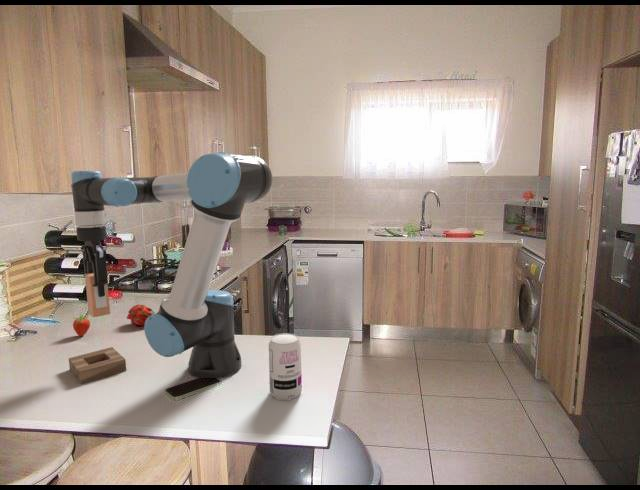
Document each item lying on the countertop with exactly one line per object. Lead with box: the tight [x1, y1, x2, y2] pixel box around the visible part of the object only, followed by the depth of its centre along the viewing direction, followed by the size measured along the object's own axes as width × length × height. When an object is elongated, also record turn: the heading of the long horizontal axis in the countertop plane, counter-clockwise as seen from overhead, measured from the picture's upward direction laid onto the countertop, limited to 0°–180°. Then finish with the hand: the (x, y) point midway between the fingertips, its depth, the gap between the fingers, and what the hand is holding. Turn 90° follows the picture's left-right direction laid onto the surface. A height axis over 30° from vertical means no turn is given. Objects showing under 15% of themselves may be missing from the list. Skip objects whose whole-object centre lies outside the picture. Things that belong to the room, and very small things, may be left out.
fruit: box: [72, 313, 91, 337], centre depth 153 cm, size 5×5×8 cm
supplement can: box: [268, 332, 303, 401], centre depth 112 cm, size 8×8×15 cm
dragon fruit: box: [126, 304, 156, 328], centre depth 164 cm, size 8×8×12 cm
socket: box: [68, 346, 127, 385], centre depth 127 cm, size 12×12×4 cm
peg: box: [84, 273, 111, 318], centre depth 127 cm, size 4×4×12 cm
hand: (98, 305), depth 127 cm, fingers closed on peg, 4 cm apart
